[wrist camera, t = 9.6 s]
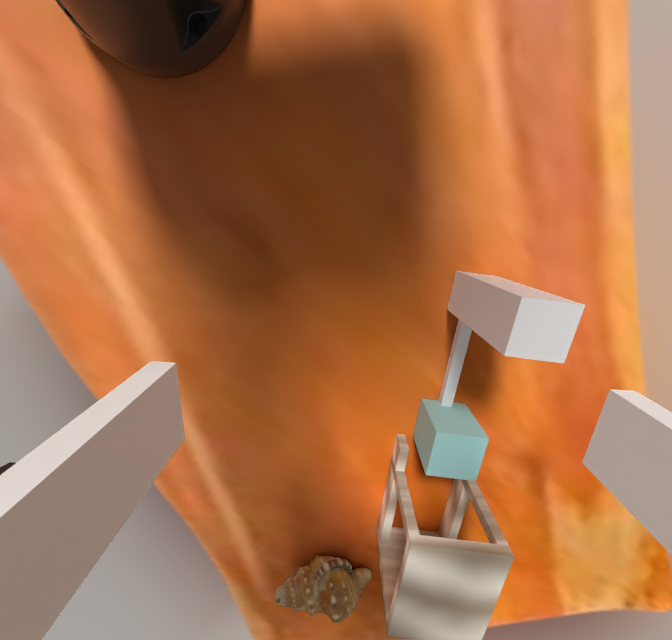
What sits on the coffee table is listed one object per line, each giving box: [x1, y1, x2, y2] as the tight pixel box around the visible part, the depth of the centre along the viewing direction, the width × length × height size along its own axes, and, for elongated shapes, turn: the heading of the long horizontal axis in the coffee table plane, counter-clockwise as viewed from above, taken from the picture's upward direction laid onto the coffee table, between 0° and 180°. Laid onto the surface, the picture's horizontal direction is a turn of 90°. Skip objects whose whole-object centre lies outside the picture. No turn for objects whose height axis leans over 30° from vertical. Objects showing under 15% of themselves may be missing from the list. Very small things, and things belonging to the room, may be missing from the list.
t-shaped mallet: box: [413, 271, 585, 481], centre depth 28 cm, size 20×5×12 cm, turn 173°
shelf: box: [376, 434, 514, 640], centre depth 33 cm, size 15×9×11 cm, turn 173°
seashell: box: [275, 555, 372, 624], centre depth 40 cm, size 9×8×10 cm
